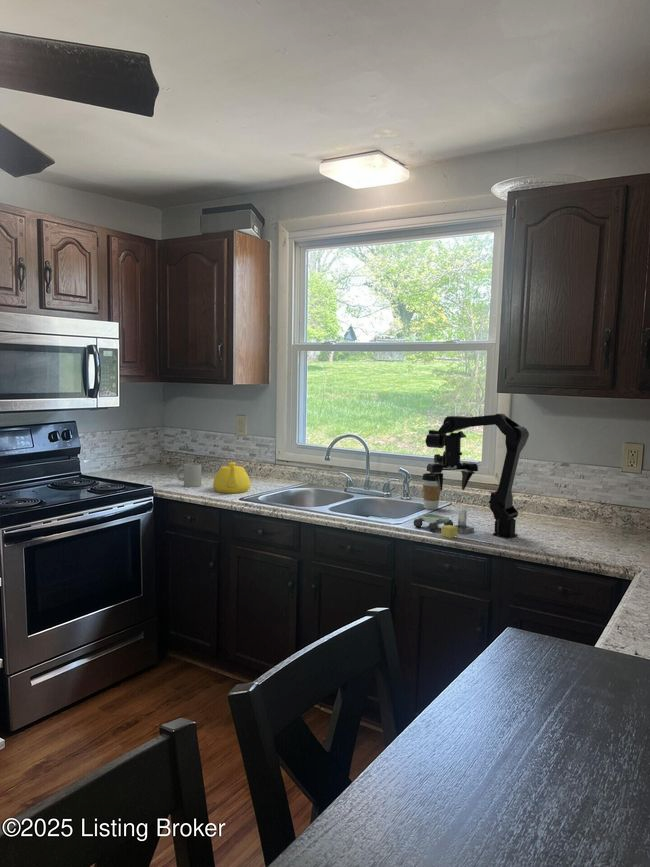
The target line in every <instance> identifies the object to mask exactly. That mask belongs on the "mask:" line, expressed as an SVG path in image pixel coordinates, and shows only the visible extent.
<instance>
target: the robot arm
mask: <svg viewBox="0 0 650 867" xmlns="http://www.w3.org/2000/svg"><path fill="white" fill-rule="evenodd" d="M493 425H495V426H496V427H497V428H498V430H499V431H500V432H501V433H502V434H503V435H504V436H505V447H506V452H505V457H504V461H503V466H502V471H501V474H500V478H499V483H498V488H497V490H495V491H492V492H490V498H489V501H488V504H489V510H490V511H491V512H492V514H493V517H494V532H493V533H492V535H493V536H497V537H501V538H505V539H511V538H514V537H518V533H516V525H517V524H516V523H517V521H516V520H517V519H516V518H518V515H519V511H518V510H517V508H515V506H514V505H513V501H514V500H513V499H514V498H513V492H512V489H513V485H514V480H515V477H516V472H517V467H518V463H519V459H520V455H521V452H522V450H523V449H524V447H525V446H526V444H527V442H528V438H529V436H530V433H529V430H528V429H527V428H526V427H524V426H521V425H520V424H519V423H517V422H515V420H512V419H511V418H510V417H508V416H507V415H506V414H505V413H495V414H489V415H479V416H465V415H462V416H461V415H449V416H446V417H444V420H443V422H442V425H440V427H439V429H438V430H436V429H429V430H428V433H427V435H426V436H425V437H426V438H425V445H426V447H427V448H431V449H432V448H433V449H434V448H435V449H443V448H444V450H443V453H442V455H441V454H438V453H437V454H434V455H433V463H428V464H427V465H426V471H427V472H429V473H431V474H433V475H434V476H435V478H436V481H437V483H438V486H439V489H440V492H441V491H443V487H444V486H443V483H444V472H443V471H457V470H458V471H459V470H461V471H460V472H461V475H462V477H461V490H463V491H464V490H465V489H466V487H467V485H468V483H469V481H470V479H471V477H472V476H473V475H474V474H475V473H476V472H478V471H479V466H478V464H477V463H475V462H472V461H471V462H461V456H462V455H463V452H461V445H462V444H461V442H462V439H464V438H467V435H466V434H465V433H464V432H463V431H462V430H465V429H468V428H471V427H482V426H483V427H484V426H493ZM457 431H458V432H457Z"/></svg>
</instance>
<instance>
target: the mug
mask: <svg viewBox="0 0 650 867" xmlns="http://www.w3.org/2000/svg"><path fill="white" fill-rule="evenodd" d="M177 468H178V469H177V470H176V477H177V480H178V481H181V482H183V487H184V486H185V488H190V487H194V488H201V487H200V486H202V463H197V462H189V463H184V464H183V466H181V467H177ZM180 471H183V477H181V476H180Z"/></svg>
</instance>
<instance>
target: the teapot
mask: <svg viewBox="0 0 650 867" xmlns="http://www.w3.org/2000/svg"><path fill="white" fill-rule="evenodd" d="M236 464H237V462H235V461H233V462H228V465H224V466H221V467H220V468H219V470H218V471H217V473H216V475H215V477H214V479H213V483H212V484H213V489H214V490H215V491H216V492H218V493H220V492H221V494H242V492H243V493H247V491H248V490H249V489H250V488H251V480H250V477H249V474H248V473H247V470H245V468H244V467H243V466H241V465H236Z"/></svg>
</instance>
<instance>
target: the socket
mask: <svg viewBox="0 0 650 867" xmlns="http://www.w3.org/2000/svg"><path fill="white" fill-rule="evenodd" d="M453 526H456V527H458V524H455V525H454V524H453ZM474 532H475V527H473V526H471V525H466V528H464V529H462V528H458V530H457V534H461V533H462V534H461V535H465V534H469V533H474Z"/></svg>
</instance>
